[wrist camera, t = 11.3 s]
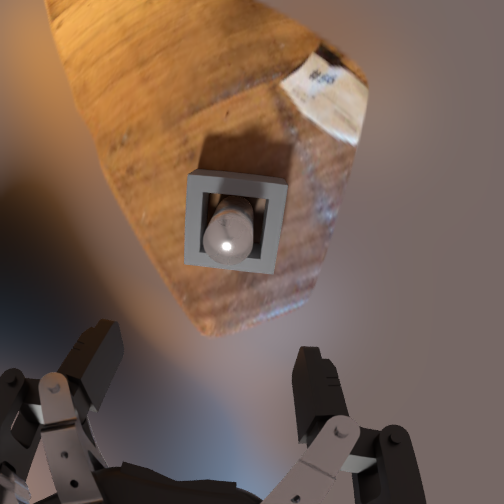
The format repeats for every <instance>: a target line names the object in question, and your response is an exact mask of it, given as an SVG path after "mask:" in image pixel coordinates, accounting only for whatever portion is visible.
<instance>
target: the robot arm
mask: <svg viewBox="0 0 504 504" xmlns="http://www.w3.org/2000/svg"><path fill="white" fill-rule="evenodd" d="M123 354H124V346H123V341H122V337H121V332H120V327H119V324H118V322H116V321H111V320H107V319H101V320H100V321H99V322H98V324H97V325H96V327H95V328H93V327H90V328H89V329H87V330H86V331H85V332H83V333H82V334H81V336H80V337H79V339H78V340H77V343H75V345H74V346H73V349H71V351H70V352H69V354H68V355H67V357H66V359H65V360H64V362H63V363H62V365H61V366H60V368H59V369H58V371H57V372H53V373H48V374H46V375H45V376H44V377H42V379H29V378H25V376H24V375H23V373H22V372H21V371H20V370H19V369H16V368H12V369H8V370H6V371H5V372H4V373H3V374H2V376H1V377H0V504H29V500H30V499H31V494H30V492H29V489H28V486H27V484H26V479H27V476H28V473H29V470H30V467H31V464H32V460H33V458H34V455H35V452H36V449H37V447H38V444H39V442H40V439H41V437H42V441H43V446H44V450H45V454H46V458H47V462H48V465H49V469H50V472H51V475H52V479H53V482H54V485H55V488H56V490H57V493H55V494H53V495H51V496H49V497H47V498H45V499H43V500H40V501H38V502H36V503H34V504H320V503H321V502H322V500H323V499H324V497H325V496H326V495H327V493H328V492H329V490H330V489H331V487H332V486H333V484H334V482H335V480H336V478H335V477H336V475H337V473H338V472H339V470H341V471H347V472H352V479H353V488H354V498H355V504H426V499H425V494H424V490H423V485H422V481H421V477H420V473H419V469H418V465H417V461H416V457H415V453H414V450H413V446H412V443H411V439H410V436H409V434H408V432H407V431H406V430H405V429H404V428H403V427H401V426H398V425H389V426H386V427H385V428H384V429H382V431H378V430H372V429H366V428H362V427H360V426H359V425H358V424H357V422H355V420H353V419H352V418H350V417H349V414H348V410H347V407H346V403H345V399H344V395H343V392H342V388H341V387H340V385H341V384H340V381H339V379H338V373H337V370H336V367H335V366H334V365H333V363H332V362H331V361H330V360H329V359H322V357H321V353H320V350H319V348H318V347H306V346H302V347H300V349H299V353H298V356H297V359H296V362H295V365H294V368H293V372H292V387H293V396H294V405H295V413H296V422H297V430H298V431H297V432H298V441H299V443H307V450H306V452H305V453H304V454H303V455H302V457H301V458H300V459H299V460H298V461H297V463H296V464H295V465H294V466H293V467H292V469H291V470H290V471H289V472H288V473H287V475H286V476H285V477H284V478H283V479H282V480H281V482H280V483H279V484H278V485H277V486H276V487H275V488H274V489H273V491H272V492H271V493H270V494H269V495H268V496H267V497H266V498H265V499H264V500H262V499H260V498H259V497H257V496H256V495H254V494H252V493H250V492H248V491H246V490H243V489H240V488H237V487H236V482H226V481H216V480H194V481H175V480H172V479H170V478H168V477H166V476H163V475H161V474H159V473H157V472H155V471H153V470H150V469H148V468H144V467H141V466H137V465H133V464H130V463H127V462H123V463H122V466H121V467H108V465H107V463H106V461H105V460H104V458H103V456H102V455H101V452H100V450H99V448H98V445H97V443H96V440H95V437H94V434H93V432H92V429H91V426H90V423H89V420H88V417H87V414H88V411H89V410H92V411H94V412H98V411H99V408H100V406H101V403H102V401H103V399H104V397H105V394H106V392H107V390H108V388H109V386H110V383H111V381H112V379H113V377H114V375H115V373H116V371H117V368H118V366H119V364H120V362H121V360H122V358H123ZM18 411H19V415H18V417H17V419H16V421H15V423H14V425H13V427H12V430H11V425H12V423H13V421H14V419H15V417H16V414H17V413H18Z"/></svg>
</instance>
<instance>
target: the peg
mask: <svg viewBox="0 0 504 504" xmlns="http://www.w3.org/2000/svg"><path fill="white" fill-rule="evenodd" d="M253 216H254V213H253V208H252V206H251V204H250V203H249V202H248V201H247V200H246V199H244V198H242V197H240V196H230V197H227V198H225V199H223V200H222V201H221V202H220V203H219V205H218V207H217V209H216V211H215V213H214V215H213V217H212V219H211V221H210V223H209V225H208V227H207V229H206V231H205V233H204V237H203V245H204V249H205V251H206V253H207V254H208V256H209V257H210V258H211V259H212V260H214V261H215V262H217V263H220V264H223V265H235V264H238V263H240V262H242V261H244V260H245V259H246V258H247V257H248V256H249V254H250V253H251V250H252V247H253Z"/></svg>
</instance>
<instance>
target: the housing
mask: <svg viewBox="0 0 504 504" xmlns="http://www.w3.org/2000/svg"><path fill="white" fill-rule="evenodd" d="M287 189H288V184H287V183H286V181H285V180H284V178H278V177H270V176H262V175H254V174H246V173H237V172H227V171H216V170H205V169H196V170H194V171H193V172H191V173H189V174H188V179H187V196H186V216H185V249H184V264H187V265H195V266H204V267H212V268H221V269H229V270H238V271H247V272H256V273H265V274H273V273H274V268H275V262H276V256H277V250H278V245H279V239H280V233H281V227H282V220H283V214H284V208H285V202H286V195H287ZM209 193H218V194H228V195H237V196H246V197H255V198H263V199H266V203H265V210H264V218H263V225H262V232H261V239H260V243H253V247H252V250H251V253H250V254H249V256H248V257H247V258H246V259H245V260H244V261H242V262H240V263H238V264H235V265H223V264H220V263H217V262H215V261H214V260H212V259H211V258H210V257H209V256H208V254H207V253H206V251H205V249H204V245H203V237H204V233H205V231H206V228H207V213H208V200H209Z"/></svg>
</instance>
